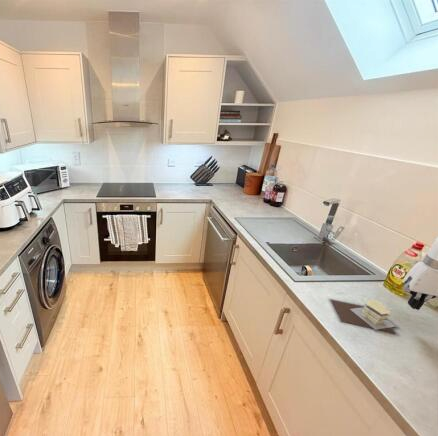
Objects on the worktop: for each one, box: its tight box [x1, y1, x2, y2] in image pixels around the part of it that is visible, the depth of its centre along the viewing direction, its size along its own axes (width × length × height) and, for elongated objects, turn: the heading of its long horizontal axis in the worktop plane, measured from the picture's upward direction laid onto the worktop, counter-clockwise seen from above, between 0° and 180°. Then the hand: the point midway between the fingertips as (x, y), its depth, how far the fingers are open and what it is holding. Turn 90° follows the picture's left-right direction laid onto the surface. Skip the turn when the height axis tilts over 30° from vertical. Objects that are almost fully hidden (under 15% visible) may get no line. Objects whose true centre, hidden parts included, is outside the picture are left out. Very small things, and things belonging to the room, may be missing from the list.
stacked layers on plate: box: [350, 299, 397, 331], centre depth 89 cm, size 10×9×6 cm
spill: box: [330, 299, 396, 334], centre depth 91 cm, size 16×12×1 cm
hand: (413, 306), depth 84 cm, fingers closed
